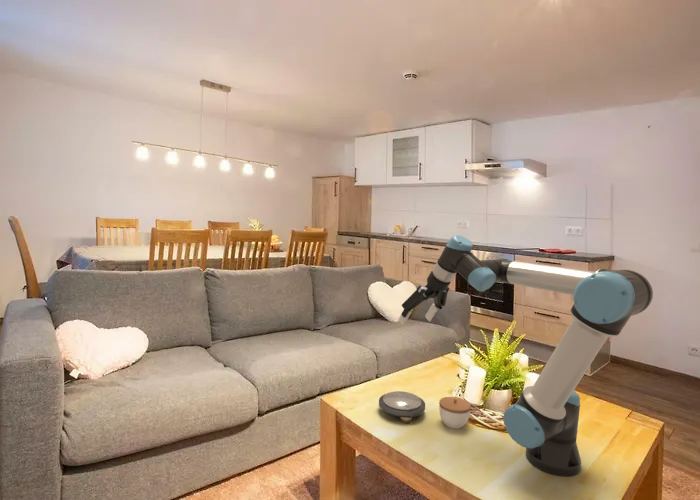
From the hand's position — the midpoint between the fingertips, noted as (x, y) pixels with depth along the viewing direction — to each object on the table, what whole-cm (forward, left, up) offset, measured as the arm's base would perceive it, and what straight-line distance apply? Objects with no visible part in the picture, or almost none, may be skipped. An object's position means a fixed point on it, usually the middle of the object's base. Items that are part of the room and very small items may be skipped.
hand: (414, 320), depth 154 cm
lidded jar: (-17, +3, -34) cm, 38 cm away
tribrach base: (+2, +3, -34) cm, 34 cm away
